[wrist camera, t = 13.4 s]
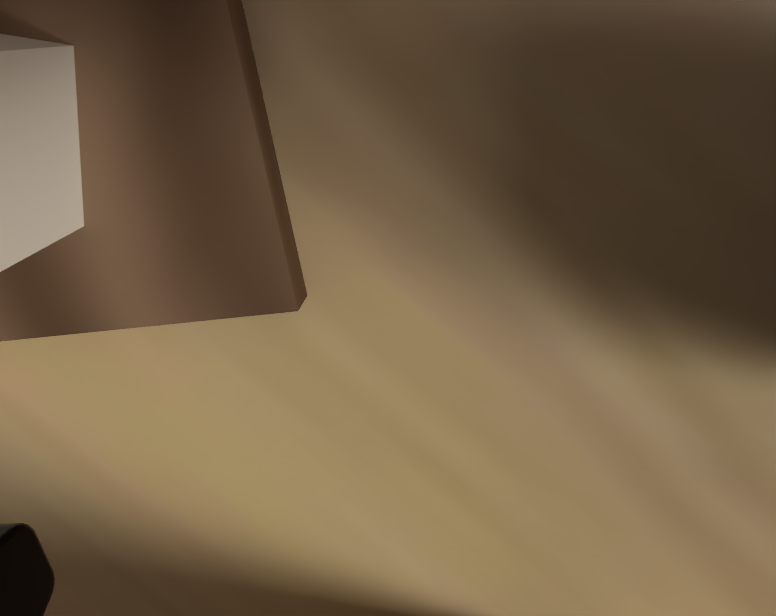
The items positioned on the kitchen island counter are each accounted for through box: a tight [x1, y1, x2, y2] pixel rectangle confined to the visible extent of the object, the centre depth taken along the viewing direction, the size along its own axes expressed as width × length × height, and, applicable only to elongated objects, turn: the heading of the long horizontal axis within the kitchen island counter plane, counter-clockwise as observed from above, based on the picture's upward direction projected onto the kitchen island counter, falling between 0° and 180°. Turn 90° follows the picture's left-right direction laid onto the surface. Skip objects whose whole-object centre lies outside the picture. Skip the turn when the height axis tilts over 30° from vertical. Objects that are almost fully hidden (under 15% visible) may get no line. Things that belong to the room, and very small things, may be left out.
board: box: [0, 0, 307, 341], centre depth 19 cm, size 15×13×1 cm
